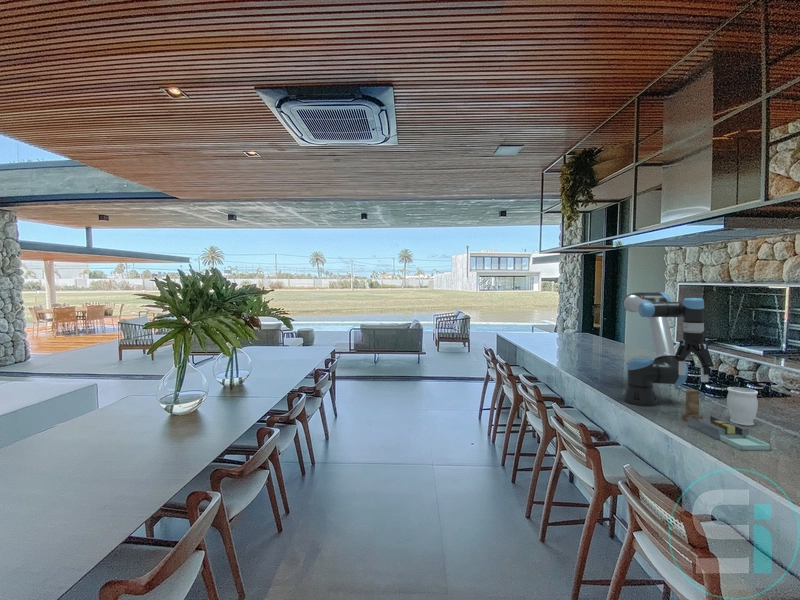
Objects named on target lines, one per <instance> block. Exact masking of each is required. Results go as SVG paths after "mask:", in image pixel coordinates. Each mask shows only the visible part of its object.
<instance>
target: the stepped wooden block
mask: <svg viewBox="0 0 800 600" xmlns="http://www.w3.org/2000/svg"><path fill="white" fill-rule="evenodd" d="M681 414H682V415H681V419H682V420H683V421H686V422H687V423H689V416H696V417H698V418H700V419H702V420H703V415H700V391H699V390H696V389H685V412H681Z"/></svg>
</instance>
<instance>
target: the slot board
mask: <svg viewBox="0 0 800 600" xmlns="http://www.w3.org/2000/svg"><path fill="white" fill-rule="evenodd" d="M714 421H723V422H725V423H727V424H730V425H732V426H735V434H726V433H725V429H723V428H720V427H718V426H716V425H714ZM688 426H689V427H690V426H691V427H690V428H693V429H694V430H696V431H699V432H701V433H703V434H705V435H707V436H709V437H711V438H713V439H716V440H717V441H720V440H719V435H722V436H724V437H726V438H728V439H746V435H749V433H750V432H749V431H750V430H749V428H747V427H745V426H743V425H740V424H736V423H733V422H731V421H730V420H727V419H725V418H723V417H720V416H717V415H710V417H709V420H704V419H703V418H702V419H700V418H698V417H696V416H689V422H688Z"/></svg>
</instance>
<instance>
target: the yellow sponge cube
mask: <svg viewBox="0 0 800 600" xmlns="http://www.w3.org/2000/svg"><path fill="white" fill-rule="evenodd" d="M721 428H723V429H725V433H726V434H735V426H732V425H730V424H722V425H721Z"/></svg>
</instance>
